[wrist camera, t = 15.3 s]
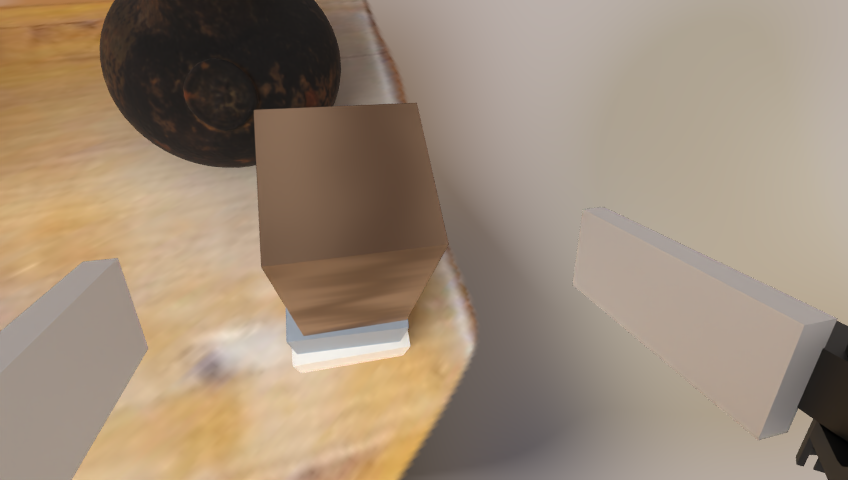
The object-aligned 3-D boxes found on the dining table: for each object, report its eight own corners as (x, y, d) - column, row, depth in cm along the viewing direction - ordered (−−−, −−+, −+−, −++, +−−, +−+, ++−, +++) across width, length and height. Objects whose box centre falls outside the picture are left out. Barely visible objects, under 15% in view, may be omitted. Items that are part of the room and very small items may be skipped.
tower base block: (301, 373, 32) (292, 366, 28) (294, 275, 35) (285, 254, 30) (402, 355, 34) (410, 346, 29) (387, 263, 37) (392, 242, 32)
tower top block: (297, 354, 28) (286, 342, 23) (294, 257, 30) (283, 229, 26) (400, 341, 29) (408, 327, 25) (388, 249, 32) (394, 221, 27)
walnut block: (303, 336, 24) (261, 267, 13) (295, 240, 26) (253, 109, 15) (406, 319, 25) (448, 244, 14) (390, 229, 27) (416, 102, 16)
